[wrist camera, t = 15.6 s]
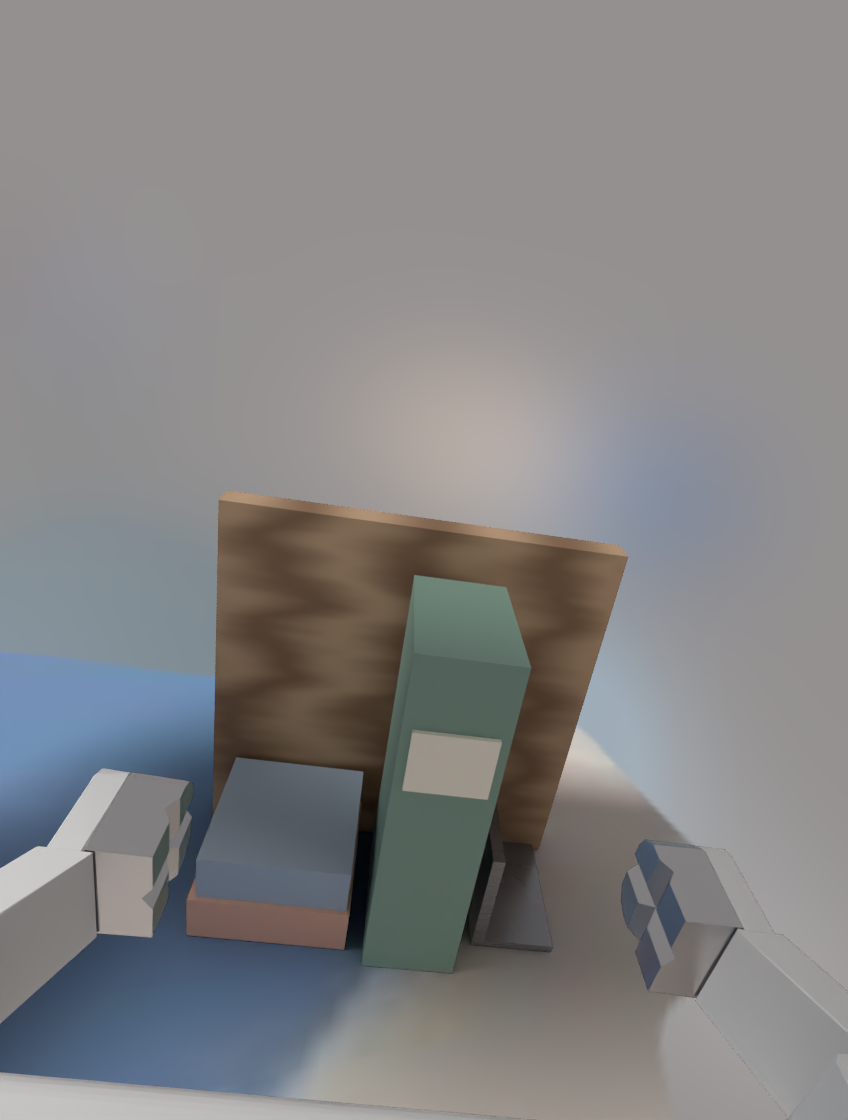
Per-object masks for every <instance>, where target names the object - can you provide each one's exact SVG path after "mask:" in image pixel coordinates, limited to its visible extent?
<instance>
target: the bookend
mask: <svg viewBox="0 0 848 1120" xmlns="http://www.w3.org/2000/svg"><path fill="white" fill-rule="evenodd" d="M468 912H469V925H470V937H471V945H482V946H493V947H503V948H514V949H524V950H535V951H545V952H551V951H552V948H553V946H552V941H551V936H550V931H549V926H548V921H547V916H546V912H545V907H544V902H543V897H542V892H541V887H540V882H539V877H538V872H537V868H536V863H535V858H534V853H533V848H532V844H524V843H514V842H505V841H502V835H501V829H500V822H499V815H498V809H497V802H496V806H495V810H494V813H493V817H492V821H491V825H490V829H489V833H488V837H487V840H486V844H485V848H484V852H483V856H482V860H481V864H480V867H479V871H478V875H477V879H476V883H475V887H474V891H473V894H472V898H471V902H470V906H469V910H468Z"/></svg>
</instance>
